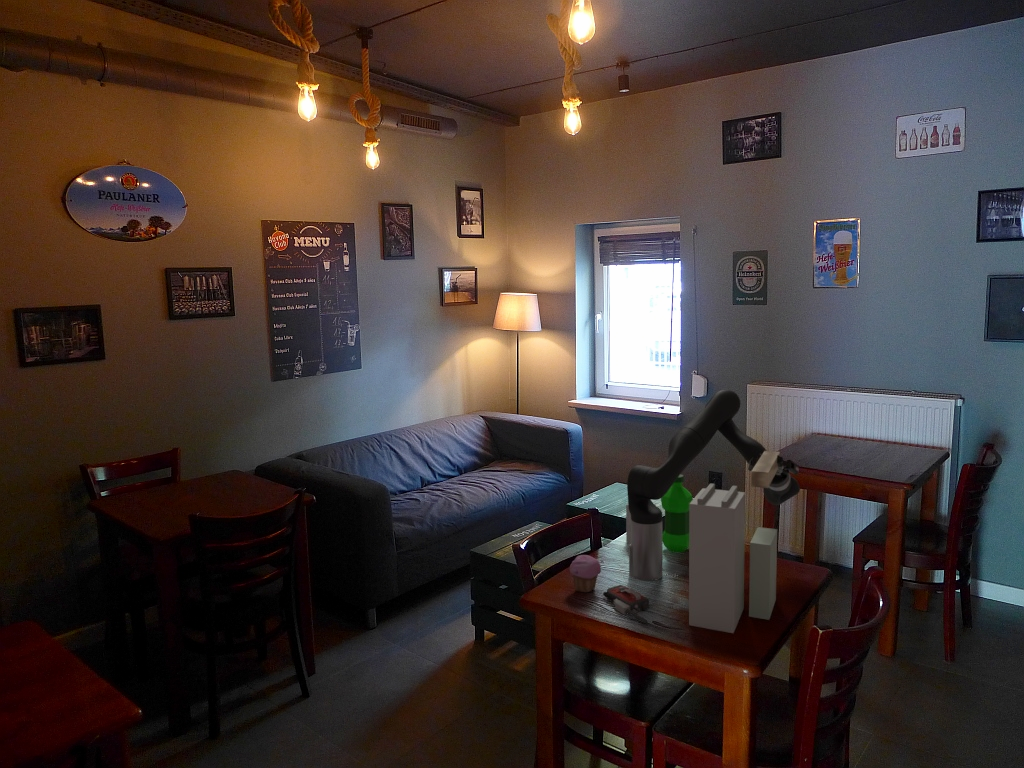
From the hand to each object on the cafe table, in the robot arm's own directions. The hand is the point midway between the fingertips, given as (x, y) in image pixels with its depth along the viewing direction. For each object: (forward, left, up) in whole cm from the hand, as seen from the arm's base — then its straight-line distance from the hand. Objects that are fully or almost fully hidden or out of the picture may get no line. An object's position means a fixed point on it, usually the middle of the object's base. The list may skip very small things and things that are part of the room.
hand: (769, 458), depth 194 cm
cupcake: (-48, -16, -39) cm, 64 cm away
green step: (0, -8, -39) cm, 40 cm away
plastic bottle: (-32, +25, -39) cm, 56 cm away
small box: (-45, +28, -39) cm, 66 cm away
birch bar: (0, -6, -3) cm, 7 cm away
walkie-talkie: (-32, -22, -40) cm, 55 cm away
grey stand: (-10, -18, -39) cm, 44 cm away
